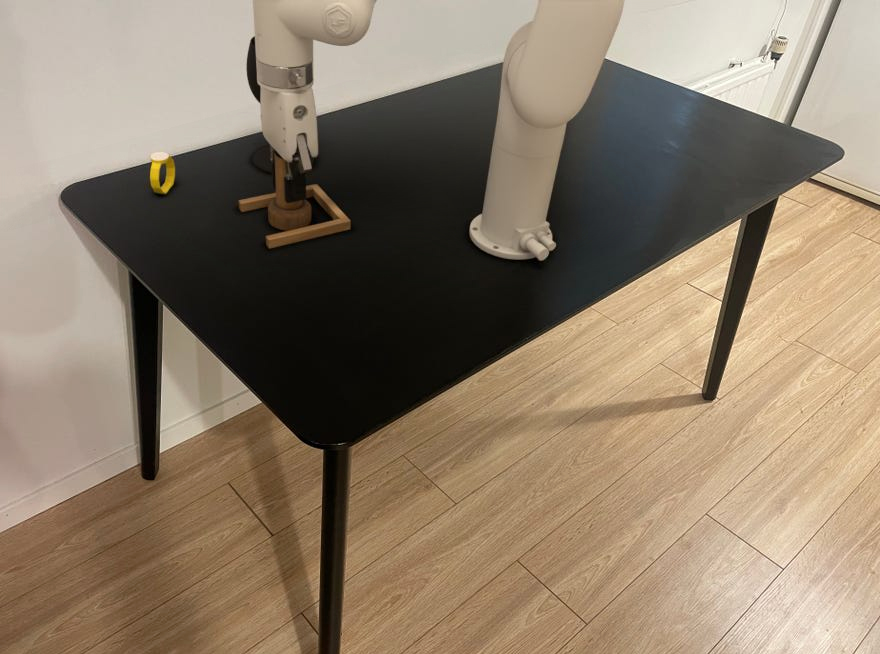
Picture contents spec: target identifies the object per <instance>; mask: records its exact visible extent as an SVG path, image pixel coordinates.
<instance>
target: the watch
mask: <svg viewBox="0 0 880 654" xmlns="http://www.w3.org/2000/svg"><path fill="white" fill-rule="evenodd" d="M149 157H150V162H151V166H150V172H149V173H150V174H149V180H150V181H149V182H150V186H151V189H152V190H153V192H154V193H157V194H160V195H167V194H168V192H169V191H170V189H171V188H172V187H173V186H174V184H175V178H176V164H175V161H174V159H173V158H172V156H171V155H169V153H168V152H165V151H155V152H153V153H151V154H150V156H149ZM164 164H165V166H166V168H165V169H166V171H165V172H166V173H165V179H164V183H163V184H162V185H161V183H160V172H161V171H160V170H161V167H162V165H164Z"/></svg>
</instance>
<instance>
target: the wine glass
mask: <svg viewBox="0 0 880 654" xmlns="http://www.w3.org/2000/svg"><path fill="white" fill-rule="evenodd" d="M245 66H246V77H247V84H248V86H249V89H250V91H251V94H252V95H253V97H254V99H255V100H256V101H257V103H259V104H260V95H261V86H260V85H259V84H258V82H257V65H256V48H255V35H254V36H253V37H251V38H250V40H249V45H248V50H247V55H246V65H245ZM311 88H313V85H312V86H311ZM309 158H310V162H311V166H312V167H313V165H314V163H315V158H313V157H311V156H310V155H309ZM273 162H274V161H273ZM273 162H272V161H271V159H270V145H269V146H266V147H265V146H264V147H262V148H261V149H259V150H257V151H256V152H255V153H254V154H253V156H252V163H253V165H254V166H255V168H257V169H258V170H259V171H262V172H265V173H267V174H271V175H272V171H271V163H273Z"/></svg>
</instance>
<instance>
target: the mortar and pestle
mask: <svg viewBox="0 0 880 654" xmlns="http://www.w3.org/2000/svg"><path fill="white" fill-rule="evenodd" d="M274 154H275V177H276V188H275V193H276V198H275V199H274V200H272V201H271V202H270V203H269V205H268V207H267V218H268V219H267V220H268V223H269V225H271V227H273V228H275V229H277V230H280V231H284V232H286V231H290V230H295V229H299V228H303V227H307V226H310V225H311V222H312V205H311V203H310V202H309V201H308V200H307V199H304V200H300V201H296V202H291V203H287V202H286V201H285V193H284V177H287V176H286V167H285V159H283V158H282V157H281V156H280V155H279V154H278V152H277V151H276V150H275V153H274ZM294 155H297V153H295V154H294ZM292 156H293V155H292ZM291 163H292V169H293V167H294V166H297V165H299V161H297V162H291Z"/></svg>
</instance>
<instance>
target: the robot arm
mask: <svg viewBox="0 0 880 654" xmlns="http://www.w3.org/2000/svg"><path fill="white" fill-rule="evenodd" d="M377 1H378V0H252V9H253V11H252V12H253V27H254V29H253V30H254V36H255V48H256V65H257V82H258V84H259V85H260V86H261V95H260V103H259V104H260V124H261V125H260V126H261V132H262V135H263V137H264V139H265V140H266V142H268V145H269V146H270V159H271V161H272V162H273V161H274V162H273V163H271V171H272V174H271V186H272V187H273V188H274V189H276V177H275V154H274V153H275V150H276V151H277V152H278V154H279V155H280V156H281V157H282V158H283V159H285V167H286V176H287V177H284V193H285V201H286V202H287V203H291V202H296V201H300V200H304V199H305V200H307V198H306V186H307V177H308V173H309V172H312V170H313V168H312V167H313V165H312V166H311V162H310V158H309V155H310V156H311V157H313V158H314V159H315V158H317V157H318V155H319V136H318V135H319V134H318V119H317V107H316V101H315V94H314V89H313V85H314V80H315V79H314V77H315V75H314V41H316V42H321V43H324V44H327V45H331V46H336V47H337V46H338V47H347V46H352V45H355V44H357V43H358V42H360V41H361V40H362V39H363V38H364V37H365V36H366V34H367V32H368V31H369V28H370V25H371V22H372V18H373V13H374V8H375V4H376V3H377ZM624 5H625V0H538V3H537V6H536V9H535V13H534V16H533V19H532V20H531V21H529V22H527V23H525V24H523V25H522V26H521V27H519V28H518V29H517V30H516V32H515V33H514V34H513V35H512V37H511V38H510V40H509V42H508V44H507V47H506V49H505V53H504V57H503V62H502V70H501V72H502V73H501V79H500V81H501V82H500V91H499V100H498V109H497V115H496V123H495V129H494V136H493V141H492V147H491V154H490V161H489V166H488V167H489V168H488V173H487V180H486V187H485V193H484V199H483V205H482V213H480V214H479V215H477V216H476V217H474V218H473V219H472V221H471V222H470V224H469V232H468V234H469V238H470V241H472V242H473V244H474V245H475V246H476V247H477V248H479V249H480V250H482V251H483V252H484V253H487V254H489V255H492V256H493V257H498V258H501V259H506V260H517V261H519V260H530V259H535V258H536V259H537V260H538V261H544V260H546V259H547V258H548V256H549V254H550V252H551V251H553V250H554V249H555V248H556V246H557V243H556V242H555V241H554V240H553V232H552V230H551V229H550V222H548V221H547V216H548V211H549V206H550V203H551V197H552V193H553V188H554V184H555V179H556V174H557V171H558V165H559V160H560V157H561V151H562V149H563V146H564V145H563V144H564V141H565V140H564V139H565V136H566V129H567V126H568V125H567V124H568V122H570V121H571V120H572V119H574V118H575V117H576V116H577V115H578V114H579V112H580V111H581V110H582V109H583V107H584V105H585V104H586V102H587V100H588V99H589V97H590V95H591V92H592V89H593V88H594V85H595V83H596V80H597V78H598V75H599V74H600V71H601V69H602V66H603V63H604V62H605V58H606V56H607V53H608V52H609V49H610V46H611V44H612V41H613V40H614V37H615V34H616V31H617V29H618V26H619V23H620V20H621V18H622V14H623V10H624V7H625V6H624ZM311 86H312V87H311ZM295 153H297V155H294V154H295ZM292 155H293V156H292ZM297 161H299V165H297V166H294V167H293V169H292V163H291V162H297Z"/></svg>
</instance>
